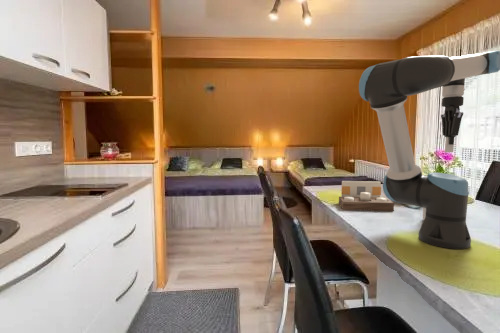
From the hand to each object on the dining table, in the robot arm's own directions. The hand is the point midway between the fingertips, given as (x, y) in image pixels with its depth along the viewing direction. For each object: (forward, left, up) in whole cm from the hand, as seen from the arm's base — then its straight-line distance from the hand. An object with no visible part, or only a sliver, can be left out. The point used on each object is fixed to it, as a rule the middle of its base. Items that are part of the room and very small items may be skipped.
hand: (448, 152), depth 125 cm
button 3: (+16, +38, -29) cm, 50 cm away
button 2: (+16, +30, -26) cm, 43 cm away
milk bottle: (-5, +7, -30) cm, 31 cm away
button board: (+16, +30, -29) cm, 45 cm away
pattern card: (+26, +30, -29) cm, 49 cm away
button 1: (+16, +22, -29) cm, 40 cm away
